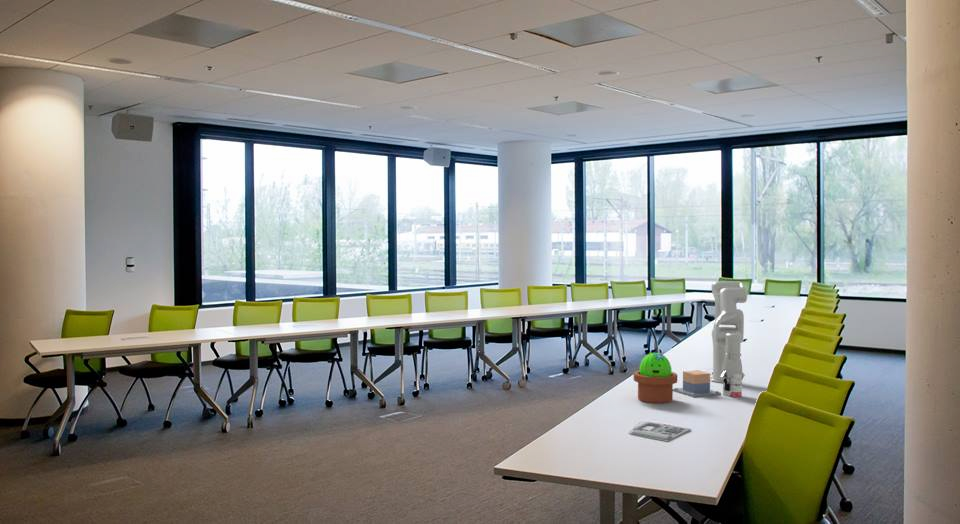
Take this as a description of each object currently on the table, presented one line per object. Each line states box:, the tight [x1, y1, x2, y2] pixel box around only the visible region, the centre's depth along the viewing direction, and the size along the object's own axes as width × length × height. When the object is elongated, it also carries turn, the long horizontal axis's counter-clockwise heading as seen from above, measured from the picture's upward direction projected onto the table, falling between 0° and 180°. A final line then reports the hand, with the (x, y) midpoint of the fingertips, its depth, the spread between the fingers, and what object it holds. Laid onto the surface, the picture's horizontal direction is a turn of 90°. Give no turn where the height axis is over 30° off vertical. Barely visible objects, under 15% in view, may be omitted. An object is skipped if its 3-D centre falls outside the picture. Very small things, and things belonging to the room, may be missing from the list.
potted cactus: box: [633, 352, 678, 404], centre depth 377 cm, size 22×22×25 cm
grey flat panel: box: [629, 421, 692, 443], centre depth 314 cm, size 23×3×20 cm
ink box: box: [722, 374, 743, 398], centre depth 387 cm, size 8×5×12 cm, turn 39°
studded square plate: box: [673, 369, 722, 398], centre depth 394 cm, size 18×18×11 cm
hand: (732, 389), depth 387 cm, fingers closed on ink box, 6 cm apart
